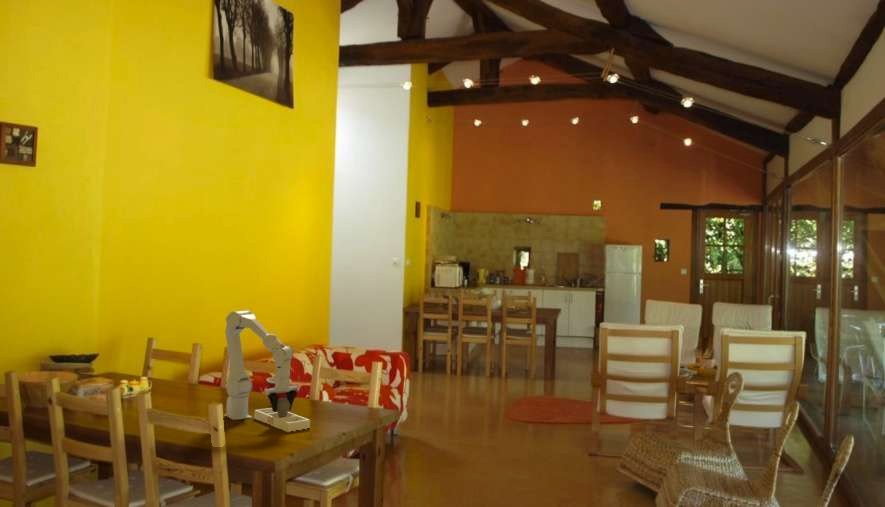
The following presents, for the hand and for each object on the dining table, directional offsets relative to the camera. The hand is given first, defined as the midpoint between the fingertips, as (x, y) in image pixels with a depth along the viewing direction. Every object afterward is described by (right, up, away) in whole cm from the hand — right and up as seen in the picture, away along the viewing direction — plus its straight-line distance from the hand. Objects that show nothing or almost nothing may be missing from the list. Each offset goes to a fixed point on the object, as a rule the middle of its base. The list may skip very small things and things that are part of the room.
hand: (281, 410), depth 295 cm
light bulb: (0, -5, 0) cm, 5 cm away
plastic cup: (-8, -5, +32) cm, 33 cm away
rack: (0, -5, 0) cm, 5 cm away
